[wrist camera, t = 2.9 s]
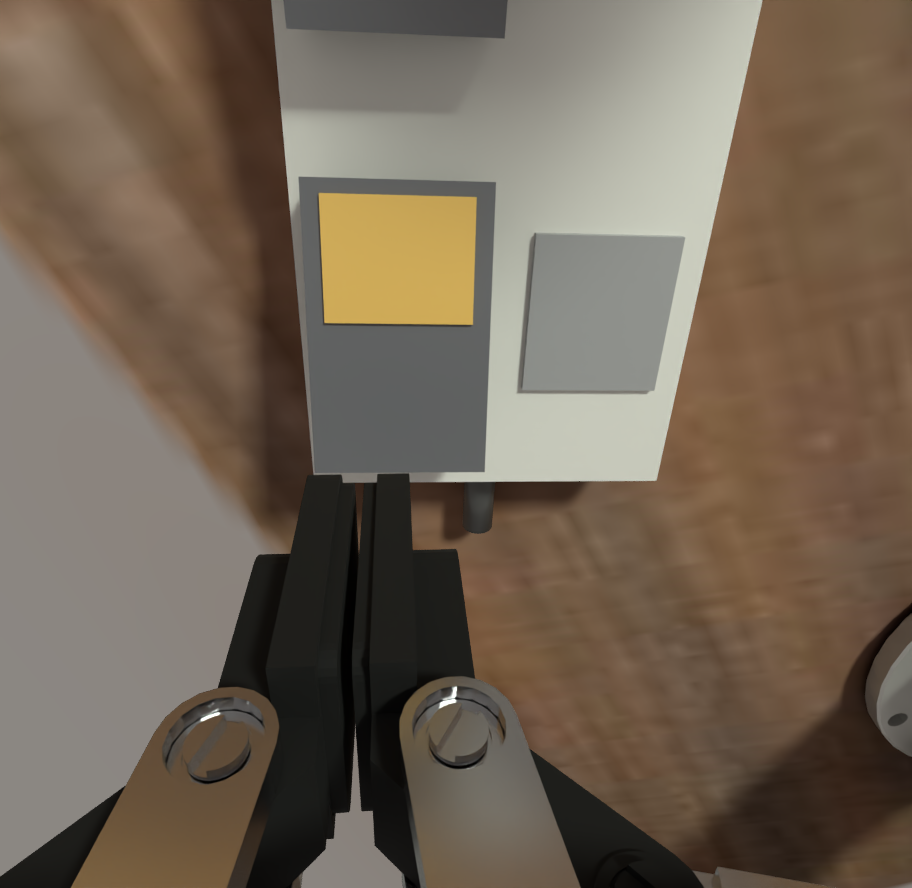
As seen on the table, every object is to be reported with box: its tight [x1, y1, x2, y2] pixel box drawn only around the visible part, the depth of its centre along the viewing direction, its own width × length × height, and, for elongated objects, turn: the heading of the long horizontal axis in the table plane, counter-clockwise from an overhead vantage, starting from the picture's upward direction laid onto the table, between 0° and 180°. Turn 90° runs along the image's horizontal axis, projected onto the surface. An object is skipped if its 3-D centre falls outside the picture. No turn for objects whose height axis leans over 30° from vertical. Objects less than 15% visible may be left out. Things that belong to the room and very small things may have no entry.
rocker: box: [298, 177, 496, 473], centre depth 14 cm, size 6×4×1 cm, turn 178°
